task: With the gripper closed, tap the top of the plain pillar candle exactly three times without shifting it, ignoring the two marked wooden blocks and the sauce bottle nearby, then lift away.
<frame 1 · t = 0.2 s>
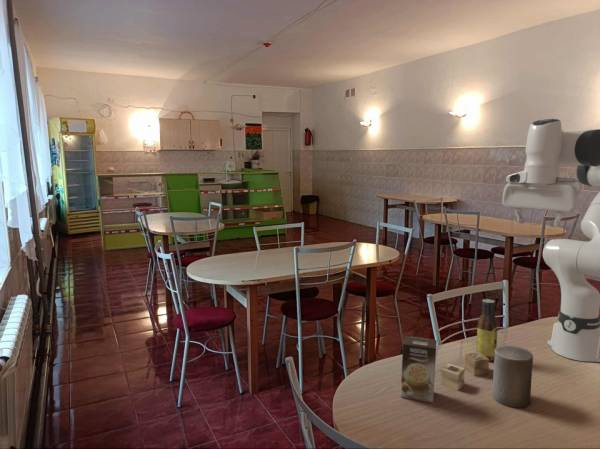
hand: (537, 225, 126), 47 cm above the table, tool pointing down, fingers open, 8 cm apart
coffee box: (417, 395, 125), on the table
sauce bottle: (485, 358, 147), on the table
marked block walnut: (476, 371, 138), on the table
marked block beech: (452, 384, 130), on the table
pillar candle: (510, 399, 122), on the table
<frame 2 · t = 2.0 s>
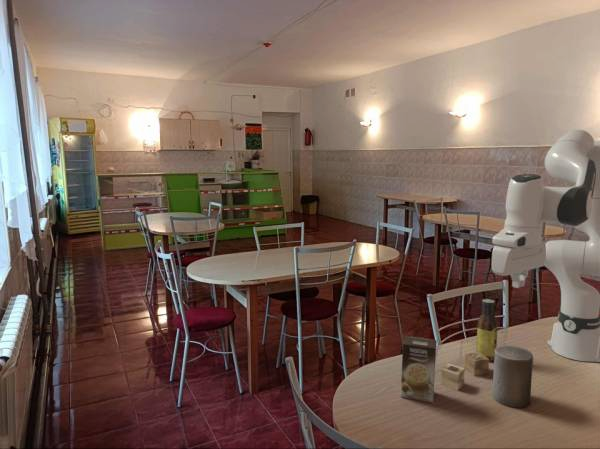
hand: (518, 286, 118), 32 cm above the table, tool pointing down, fingers closed
nothing on the table moved.
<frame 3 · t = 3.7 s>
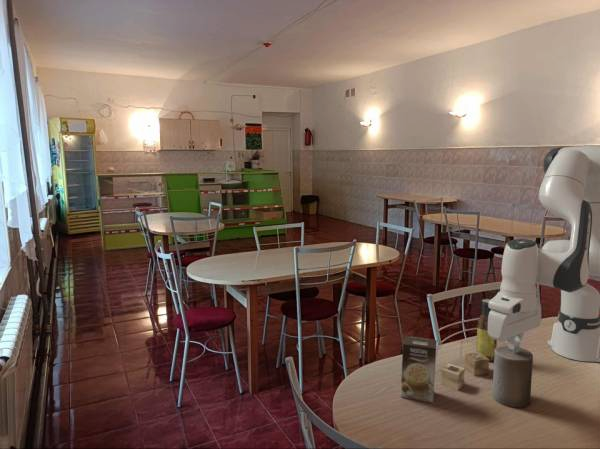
hand: (513, 347, 120), 15 cm above the table, tool pointing down, fingers closed, pressing on pillar candle
pillar candle: (510, 399, 122), on the table, touching gripper
everything else where it was.
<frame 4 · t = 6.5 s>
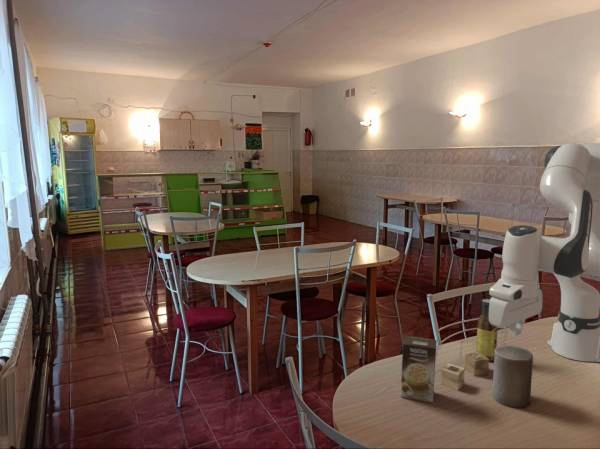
hand: (515, 334, 120), 19 cm above the table, tool pointing down, fingers closed
pillar candle: (510, 399, 122), on the table
everything else where it was.
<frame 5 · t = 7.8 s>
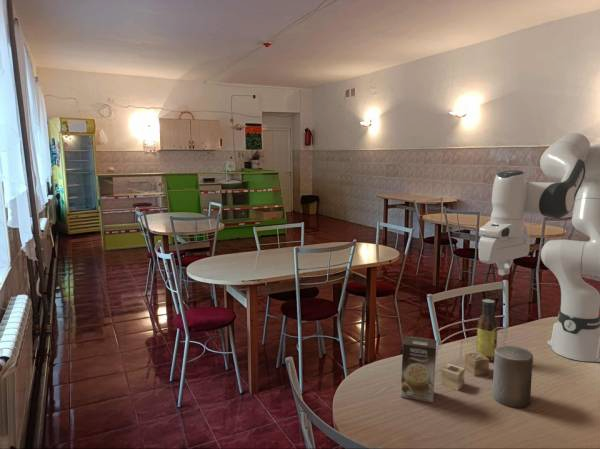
hand: (503, 274, 127), 33 cm above the table, tool pointing down, fingers closed
nothing on the table moved.
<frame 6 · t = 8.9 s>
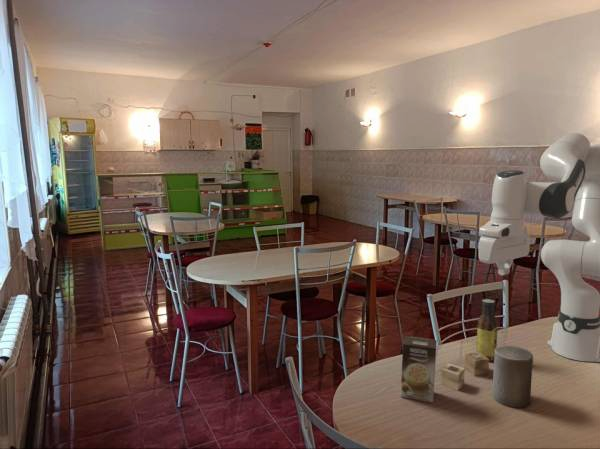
hand: (503, 274, 127), 33 cm above the table, tool pointing down, fingers closed
nothing on the table moved.
at the end: pillar candle moved 0.3 cm from its start; pillar candle tilted 0°; the gripper is holding nothing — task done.
